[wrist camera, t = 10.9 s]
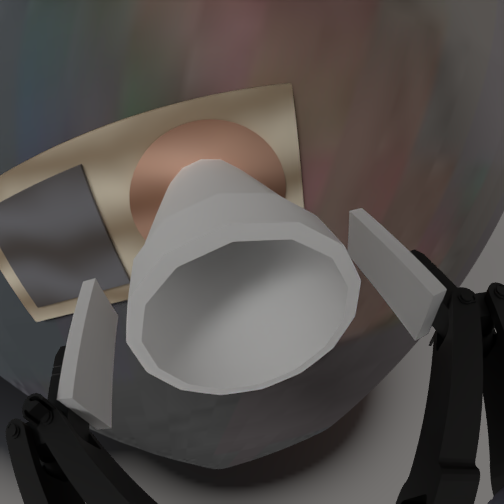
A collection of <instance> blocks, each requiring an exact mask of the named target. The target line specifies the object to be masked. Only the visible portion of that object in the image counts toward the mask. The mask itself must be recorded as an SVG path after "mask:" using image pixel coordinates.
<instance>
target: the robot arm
mask: <svg viewBox="0 0 504 504" xmlns="http://www.w3.org/2000/svg"><path fill="white" fill-rule="evenodd" d="M348 254H349V256H350V258H351V259H352V260H353V261H354V262H355V264H356V265H357V266H358V267H359V268H360V270H361V271H362V272H363V273H364V275H365V276H366V277H367V278H368V280H369V281H370V282H371V283H372V285H373V286H374V287H375V288H376V290H377V291H378V292H379V293H380V295H381V296H382V297H383V299H384V300H385V301H386V302H387V304H388V305H389V306H390V308H391V309H392V310H393V312H394V313H395V314H396V316H397V317H398V318H399V320H400V321H401V322H402V324H403V325H404V326H405V328H406V329H407V330H408V332H409V333H410V335H411V336H412V337H413V339H414V340H415V341H416V340H418V339H420V338H422V337H423V336H425V335H427V334H428V333H429V330H430V328H431V326H433V327H434V328H435V330H436V331H435V333H434V335H433V337H432V339H431V341H430V344H429V346H431V345H432V343H433V341H434V345H433V356H432V366H431V375H430V383H429V390H428V396H427V403H426V408H425V414H424V419H423V424H422V429H421V434H420V438H419V442H418V446H417V450H416V454H415V458H414V461H413V465H412V468H411V472H410V475H409V477H408V479H407V481H406V483H405V484H404V485H403V487H402V489H401V492H400V494H399V496H398V499H397V501H396V504H474V501H475V497H476V493H477V489H478V485H479V480H480V471H479V469H478V468H477V467H476V465H475V458H476V453H477V445H478V439H479V431H480V422H481V411H482V395H483V397H484V403H485V410H486V418H487V426H488V436H489V450H490V473H491V485H492V490H493V495H494V497H493V499H492V500H490V501H489V502H488V504H504V285H502V284H500V283H492V284H491V285H490V286H489V287H488V290H487V292H484V293H477V294H475V293H474V292H473V291H471V290H470V289H467V288H461V287H459V288H457V287H456V286H455V285H454V284H453V283H452V282H451V281H450V280H449V279H448V278H447V277H446V276H445V275H444V274H443V273H442V272H441V271H440V270H439V269H438V268H437V267H436V266H435V265H434V264H433V263H431V261H430V260H429V259H428V258H427V257H426V256H425V255H424V254H422V253H420V252H418V251H416V250H412V251H409V250H408V249H407V248H406V247H405V246H403V245H402V244H401V243H400V242H399V241H398V240H397V239H396V238H395V237H394V236H393V235H392V234H391V233H390V232H388V231H387V230H386V229H385V228H384V227H383V226H382V225H381V224H380V223H378V222H377V221H376V220H375V219H374V218H373V217H372V216H371V215H369V214H368V213H367V212H366V211H365V210H364V209H362V208H359V209H355V210H351V211H349V234H348ZM117 321H118V315H117V313H116V312H115V310H114V308H113V307H112V305H111V304H110V302H109V300H108V299H107V297H106V295H105V294H104V292H103V290H102V289H101V287H100V285H99V283H98V282H97V280H96V278H94V279H90V280H87V281H83V283H82V287H81V290H80V293H79V297H78V300H77V304H76V308H75V311H74V315H73V319H72V323H71V327H70V331H69V335H68V340H67V344H66V346H62V347H60V349H59V351H58V353H57V354H56V356H55V361H54V368H53V371H52V376H51V381H50V387H49V393H48V400H47V399H45V398H44V397H43V396H42V395H41V394H38V393H35V394H31V395H30V396H28V398H27V399H26V400H25V402H24V404H23V408H22V414H23V417H24V418H25V419H26V420H28V421H29V422H27V423H24V422H22V421H21V420H19V419H13V420H11V421H10V422H9V424H8V425H7V428H6V440H7V445H8V449H9V454H10V457H11V462H12V466H13V470H14V473H15V477H16V480H17V483H18V486H19V490H20V493H21V495H22V499H23V501H24V504H85V502H86V504H157V502H155V501H154V500H153V499H152V498H151V497H150V496H149V495H148V494H147V493H146V492H145V491H143V489H142V488H141V487H139V486H138V485H137V484H136V483H135V481H134V480H132V478H131V477H130V476H129V475H128V474H127V473H126V472H125V471H124V470H123V469H122V468H121V467H120V466H119V465H118V463H117V462H116V461H115V460H114V459H113V458H112V457H111V455H110V454H109V453H108V452H107V451H106V450H105V449H104V447H103V446H102V445H101V444H100V442H99V441H98V440H97V439H96V438H95V436H94V435H93V434H92V433H91V432H90V431H89V424H90V425H91V426H93V427H94V428H96V429H108V428H112V381H113V364H114V351H115V340H116V330H117ZM494 328H495V329H496V331H497V333H496V332H495V329H494ZM84 501H85V502H84Z"/></svg>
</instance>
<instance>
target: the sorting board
mask: <svg viewBox="0 0 504 504" xmlns="http://www.w3.org/2000/svg"><path fill="white" fill-rule="evenodd" d="M200 159H221V160H223V161H225V162H227V163H229V164H231V165H233V166H235V167H237V168H239V169H241V170H242V171H244V172H245V173H247V174H248V175H250V176H251V177H253V178H254V179H256V180H258V181H259V182H260V183H262V184H263V185H265V186H266V187H268V188H269V189H271V190H272V191H274V192H275V193H277V194H278V195H280V196H281V197H283V198H285V199H287V200H289V201H291V202H292V203H294V204H296V205H298V206H300V207H302V208H304V203H303V189H302V177H301V165H300V154H299V144H298V134H297V125H296V116H295V108H294V99H293V92H292V84H290V83H285V84H276V85H268V86H261V87H254V88H247V89H241V90H235V91H230V92H224V93H219V94H214V95H209V96H205V97H200V98H196V99H191V100H187V101H183V102H179V103H175V104H171V105H168V106H164V107H161V108H157V109H154V110H150V111H147V112H144V113H140V114H137V115H134V116H131V117H128V118H125V119H122V120H119V121H116V122H114V123H111V124H108V125H105V126H103V127H100V128H97V129H95V130H92V131H90V132H87V133H85V134H82V135H80V136H78V137H75V138H73V139H71V140H68V141H66V142H64V143H62V144H59V145H57V146H55V147H53V148H51V149H49V150H47V151H44V152H42V153H40V154H38V155H36V156H34V157H33V158H31V159H29V160H27V161H25V162H23V163H21V164H19V165H18V166H16V167H14V168H12V169H10V170H9V171H7V172H5V173H3V174H2V175H0V270H1V271H2V273H3V275H4V276H5V278H6V279H7V281H8V283H9V284H10V286H11V287H12V289H13V290H14V292H15V293H16V295H17V296H18V298H19V299H20V300H21V302H22V303H23V305H24V306H25V308H26V309H27V310H28V312H29V313H30V314H31V316H32V317H33V318H34V320H35V321H36V322H38V321H43V320H47V319H51V318H55V317H59V316H63V315H67V314H72V313H74V311H75V308H76V304H77V300H78V297H79V293H80V290H81V287H82V283H83V281H87V280H90V279H94V278H96V280H97V282H98V283H99V285H100V287H101V289H102V290H103V292H104V294H105V295H106V297H107V299H108V300H109V302H110V304H112V303H116V302H120V301H124V300H128V295H129V287H130V279H131V272H132V266H133V259H134V258H135V257H136V255H137V254H138V253H139V251H140V250H141V249H142V247H143V246H144V244H145V241H146V239H147V236H148V234H149V231H150V229H151V226H152V224H153V221H154V219H155V216H156V214H157V212H158V209H159V207H160V205H161V202H162V200H163V198H164V195H165V193H166V191H167V189H168V186H169V185H170V183H171V181H172V180H173V179H174V178H175V176H176V175H177V174H178V173H179V172H180V170H181V169H182V168H183V167H185V166H188V165H190V164H192V163H194V162H196V161H198V160H200Z"/></svg>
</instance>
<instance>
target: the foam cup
mask: <svg viewBox="0 0 504 504" xmlns="http://www.w3.org/2000/svg"><path fill="white" fill-rule="evenodd" d="M360 284H361V279H360V277H359V275H358V273H357V271H356V268H355V266H354V264H353V262H352V260H351V258H350V256H349V254H348V252H347V250H346V248H345V246H344V245H343V243H342V242H341V241H340V240H339V239H338V238H337V237H336V236H335V235H334V234H333V233H332V232H331V230H330V229H329V228H328V227H327V226H326V225H325V224H324V223H323V222H322V221H321V220H320V219H319V218H318V217H317V216H316V215H315V214H313V213H311V212H309V211H307V210H305V209H304V208H302V207H300V206H298V205H296V204H294V203H292V202H291V201H289V200H287V199H285V198H283V197H281V196H280V195H278V194H277V193H275V192H274V191H272V190H271V189H269V188H268V187H266V186H265V185H263V184H262V183H260V182H259V181H258V180H256V179H254V178H253V177H251V176H250V175H248V174H247V173H245V172H244V171H242V170H241V169H239V168H237V167H235V166H233V165H231V164H229V163H227V162H225V161H223V160H221V159H200V160H198V161H196V162H194V163H192V164H190V165H188V166H185V167H183V168H182V169H181V170H180V172H179V173H178V174H177V175H176V176H175V178H174V179H173V180H172V181H171V183H170V185H169V186H168V189H167V191H166V193H165V195H164V198H163V200H162V202H161V205H160V207H159V209H158V212H157V214H156V216H155V219H154V221H153V224H152V226H151V229H150V231H149V234H148V236H147V239H146V241H145V244H144V246H143V247H142V249H141V250H140V251H139V253H138V254H137V255H136V257H135V258H134V259H133V266H132V272H131V279H130V287H129V295H128V306H127V325H126V342H127V344H128V345H129V347H130V348H131V350H132V351H133V353H134V354H135V356H136V357H137V359H138V360H139V362H140V363H141V365H142V366H143V367H144V369H145V370H146V372H148V373H149V374H151V375H153V376H155V377H157V378H159V379H161V380H163V381H165V382H166V383H168V384H170V385H172V386H174V387H176V388H178V389H180V390H186V391H193V392H200V393H208V394H216V395H225V394H233V393H240V392H247V391H253V390H260V389H264V388H266V387H269V386H271V385H274V384H276V383H279V382H281V381H283V380H286V379H288V378H290V377H293V376H295V375H297V374H300V373H301V372H303V371H304V370H306V369H307V368H308V367H310V366H311V365H312V364H314V363H315V362H316V361H317V360H319V359H320V358H321V357H323V356H324V355H325V354H326V353H328V352H329V351H330V350H331V349H333V348H334V346H335V345H336V343H337V342H338V341H339V339H340V338H341V336H342V335H343V333H344V332H345V330H346V329H347V328H348V326H349V325H350V323H351V322H352V320H353V319H354V317H355V314H356V308H357V303H358V297H359V291H360Z"/></svg>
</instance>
